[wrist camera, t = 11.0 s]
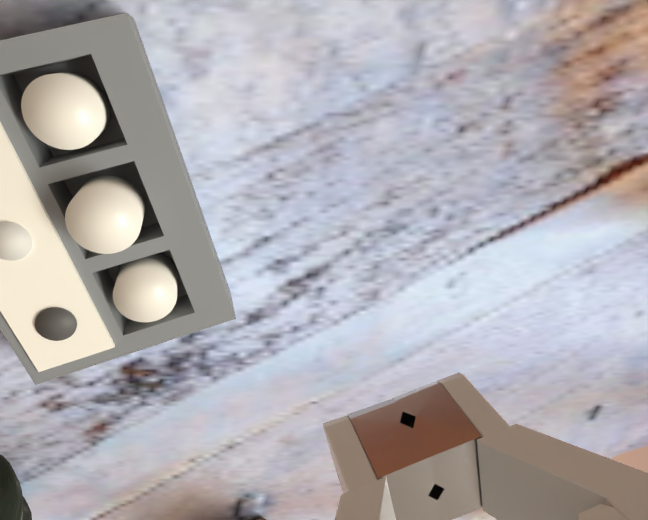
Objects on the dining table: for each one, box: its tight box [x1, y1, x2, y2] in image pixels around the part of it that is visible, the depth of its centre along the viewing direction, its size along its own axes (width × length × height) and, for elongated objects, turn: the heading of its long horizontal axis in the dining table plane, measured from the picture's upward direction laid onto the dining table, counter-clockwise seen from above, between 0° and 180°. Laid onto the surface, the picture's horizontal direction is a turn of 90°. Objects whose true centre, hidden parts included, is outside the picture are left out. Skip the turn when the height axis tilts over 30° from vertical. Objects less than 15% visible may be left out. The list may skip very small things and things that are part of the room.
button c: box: [113, 253, 178, 322], centre depth 32 cm, size 4×4×3 cm
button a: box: [21, 72, 110, 150], centre depth 27 cm, size 4×4×3 cm
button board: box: [0, 13, 236, 385], centre depth 30 cm, size 14×20×4 cm
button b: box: [65, 175, 145, 254], centre depth 28 cm, size 4×4×3 cm
